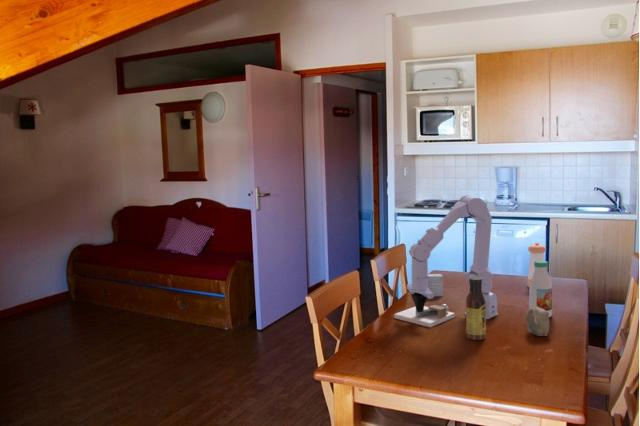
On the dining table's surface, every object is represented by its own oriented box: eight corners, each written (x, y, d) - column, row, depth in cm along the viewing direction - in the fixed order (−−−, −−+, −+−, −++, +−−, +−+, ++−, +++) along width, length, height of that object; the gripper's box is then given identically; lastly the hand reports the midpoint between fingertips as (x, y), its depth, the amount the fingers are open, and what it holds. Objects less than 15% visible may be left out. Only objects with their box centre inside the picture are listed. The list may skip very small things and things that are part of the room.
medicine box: (441, 293, 237) (441, 273, 235) (443, 296, 232) (442, 276, 231) (422, 294, 237) (422, 274, 236) (423, 297, 233) (423, 276, 232)
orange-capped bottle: (527, 288, 240) (528, 244, 237) (526, 284, 247) (527, 241, 244) (546, 289, 238) (547, 244, 235) (544, 284, 245) (545, 241, 242)
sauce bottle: (486, 341, 180) (486, 281, 178) (466, 340, 182) (466, 280, 179) (485, 334, 187) (485, 276, 184) (465, 333, 188) (465, 275, 185)
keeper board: (454, 317, 206) (454, 304, 205) (430, 327, 195) (430, 314, 195) (419, 308, 217) (419, 296, 217) (394, 317, 207) (394, 305, 206)
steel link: (445, 310, 208) (445, 302, 207) (450, 313, 205) (450, 305, 204) (414, 315, 204) (414, 307, 204) (419, 317, 201) (418, 309, 201)
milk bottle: (527, 317, 202) (528, 263, 200) (530, 311, 209) (531, 258, 207) (550, 319, 199) (551, 264, 196) (552, 313, 206) (553, 260, 203)
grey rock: (535, 344, 182) (531, 319, 179) (520, 332, 190) (515, 308, 187) (560, 333, 184) (556, 308, 180) (543, 321, 192) (539, 297, 188)
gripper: (399, 273, 208) (400, 309, 209) (421, 282, 194) (421, 320, 196) (415, 271, 210) (416, 306, 212) (438, 279, 197) (438, 317, 199)
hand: (419, 313), depth 204 cm, fingers closed, pressing on steel link
